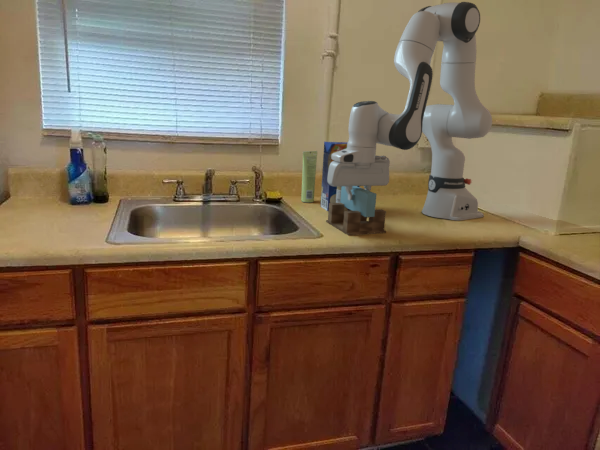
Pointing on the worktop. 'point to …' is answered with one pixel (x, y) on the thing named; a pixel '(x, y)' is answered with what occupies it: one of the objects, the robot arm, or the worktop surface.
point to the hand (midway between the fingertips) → (357, 199)
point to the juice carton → (327, 190)
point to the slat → (360, 201)
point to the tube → (308, 176)
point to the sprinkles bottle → (339, 197)
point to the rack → (355, 220)
